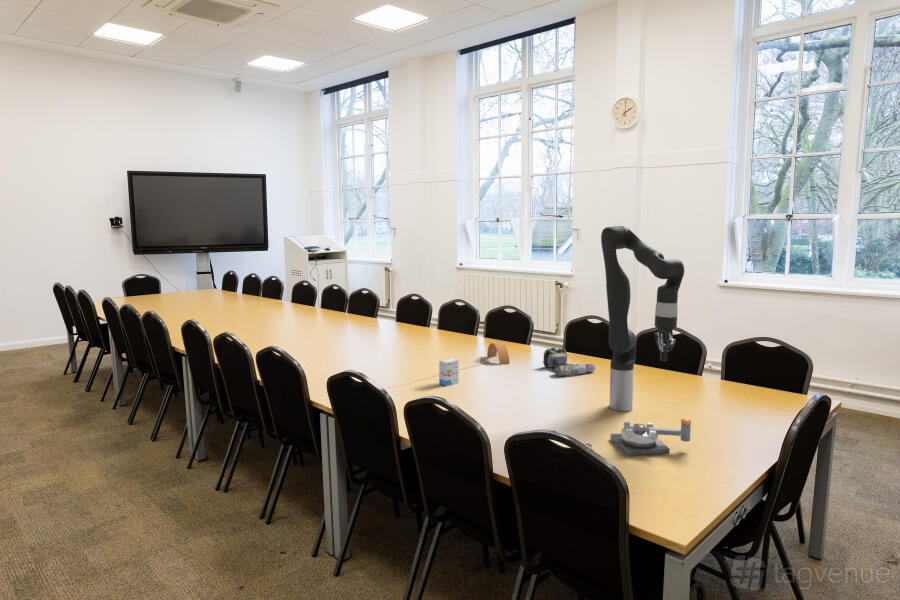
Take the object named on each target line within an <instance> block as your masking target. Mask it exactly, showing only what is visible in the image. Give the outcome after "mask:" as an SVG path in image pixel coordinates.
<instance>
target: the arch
mask: <svg viewBox="0 0 900 600" xmlns="http://www.w3.org/2000/svg"><path fill="white" fill-rule="evenodd" d="M486 353H487V356H486V357H488V358H491V357H497V355H498V361H499V363H498V364H499V366H501V365H510V355H509V352H508V348H507V345H506V344H505V342H501V341H500V342H497V341H496V342H491V343H489V345H488V348H487V352H486Z"/></svg>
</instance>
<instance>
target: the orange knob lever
mask: <svg viewBox="0 0 900 600" xmlns="http://www.w3.org/2000/svg"><path fill="white" fill-rule="evenodd" d="M680 423H681V424H680V425H681V426H680V428H664V427H663V428H662V427H654V423H653V422H646V425H645V424H644V423H634V424H633V425H631V421H627V420H624V421H623V428H621V431H620V432H621V433H620V434H621V440H622V442H624V443H625V444H628V445H630V446H635V447H652V446H655V445H657V443H658V439H659V435H660V436H662V435H663V436H675V437H676V436H677V437H680V441H682V442H684V443H685V442H691V432H692V431H691V429H692V426H691V425H692V419H690V418H687V417H682V418H681V419H680Z"/></svg>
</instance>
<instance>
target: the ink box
mask: <svg viewBox="0 0 900 600" xmlns="http://www.w3.org/2000/svg"><path fill="white" fill-rule="evenodd" d="M438 363H439V365H438V367H439V368H438V369H439V371H438V372H439V376H438V378H439V385H441V386H445V387H448V386H452V385H455V384H459V374H460V373H459V369H460V367H459V359H457V358H454V357H449V358H445V359H441V360H439V361H438Z"/></svg>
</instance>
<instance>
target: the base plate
mask: <svg viewBox="0 0 900 600" xmlns="http://www.w3.org/2000/svg"><path fill="white" fill-rule="evenodd" d="M610 440H611V442H612V441H613V442H614V443H615V444H616V445H617V446H616V445H615V444H614V443H613V442H612V443H613V444H614V445H615V446H616V448H617V449H618V450H621V451H622V452H623V453H622V452H621V451H620V452H621V453H622V454H623V455H624V456H625V457H639V456H640V457H641V456H643V455H646V456H663V454H669V455H670V454H671V453H670V452H671V451H670V449H671V448H669V446H667V445H666V444H665V443H664V442H663V441H662V440H661V439H659V438H658V443H657V445H655V446H652V447H635V446H630V445H628V444H625V443H624V442H622V440H621V433H610Z"/></svg>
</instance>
